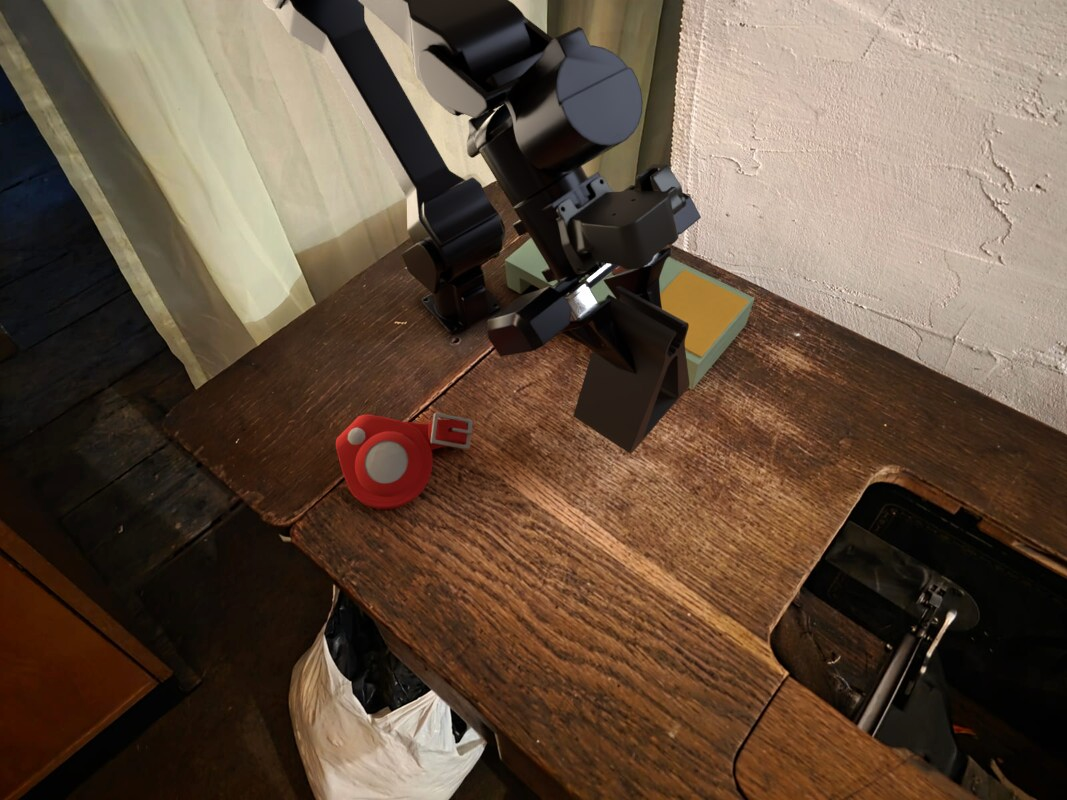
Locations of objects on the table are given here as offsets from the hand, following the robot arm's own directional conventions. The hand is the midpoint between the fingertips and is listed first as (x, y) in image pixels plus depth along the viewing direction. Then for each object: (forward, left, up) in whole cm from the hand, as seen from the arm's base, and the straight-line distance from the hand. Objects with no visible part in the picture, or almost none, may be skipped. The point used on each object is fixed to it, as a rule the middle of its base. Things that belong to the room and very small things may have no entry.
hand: (649, 363), depth 53 cm
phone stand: (-1, 0, -7) cm, 7 cm away
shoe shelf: (-14, +11, -12) cm, 22 cm away
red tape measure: (-12, -18, -12) cm, 25 cm away
